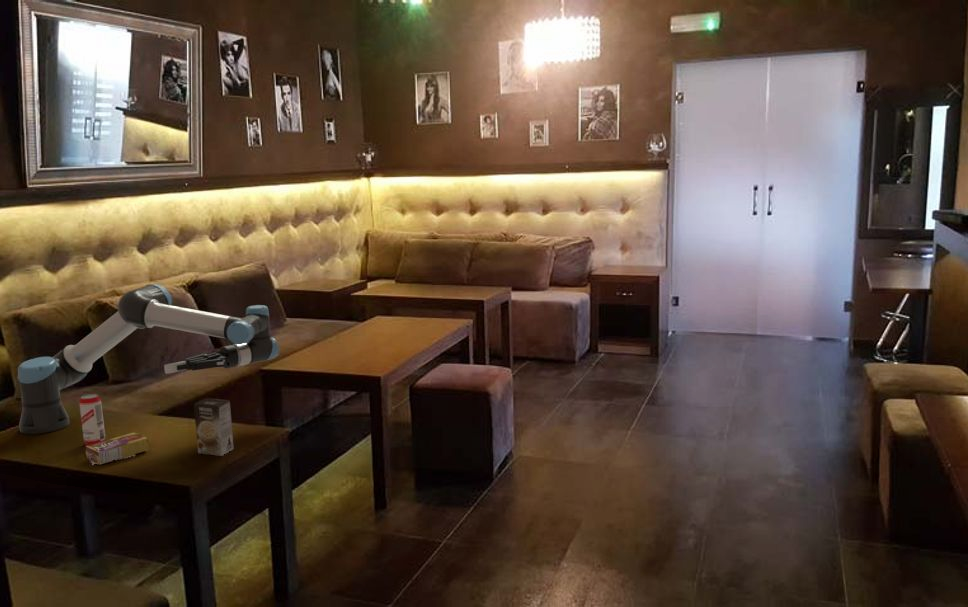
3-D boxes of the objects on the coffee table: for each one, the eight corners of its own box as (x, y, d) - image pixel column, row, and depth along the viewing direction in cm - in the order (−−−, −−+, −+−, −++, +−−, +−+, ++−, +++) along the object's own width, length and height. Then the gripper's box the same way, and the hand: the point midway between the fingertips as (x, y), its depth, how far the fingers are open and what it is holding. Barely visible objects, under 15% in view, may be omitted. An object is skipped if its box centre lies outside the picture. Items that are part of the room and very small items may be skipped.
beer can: (97, 447, 251) (91, 399, 248) (80, 446, 253) (73, 398, 250) (110, 440, 257) (104, 393, 254) (93, 440, 259) (87, 392, 256)
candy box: (135, 444, 252) (86, 458, 241) (134, 431, 252) (84, 444, 240) (148, 451, 247) (99, 465, 235) (147, 437, 246) (97, 451, 235)
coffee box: (196, 453, 244) (192, 403, 241) (210, 446, 250) (205, 397, 247) (222, 456, 241) (217, 405, 238) (235, 449, 247) (230, 399, 244)
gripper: (244, 369, 265) (175, 384, 248) (225, 363, 274) (157, 377, 257) (243, 347, 263) (173, 361, 247) (224, 341, 272) (155, 354, 256)
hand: (165, 369), depth 252 cm, fingers closed
